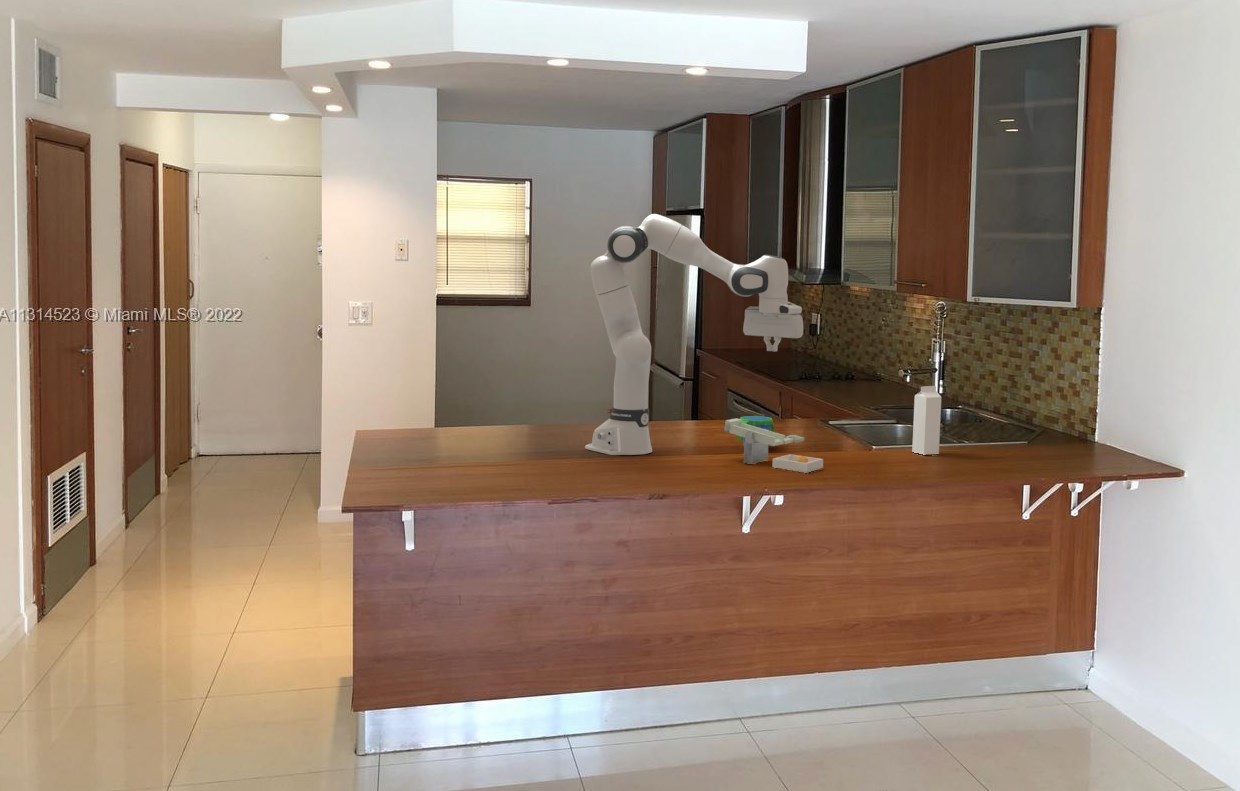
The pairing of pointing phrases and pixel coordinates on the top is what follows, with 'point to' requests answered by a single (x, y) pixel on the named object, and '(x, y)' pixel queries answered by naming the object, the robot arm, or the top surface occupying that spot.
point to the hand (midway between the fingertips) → (772, 351)
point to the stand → (754, 449)
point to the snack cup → (757, 423)
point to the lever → (759, 433)
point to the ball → (802, 459)
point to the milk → (926, 421)
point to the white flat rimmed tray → (797, 463)
